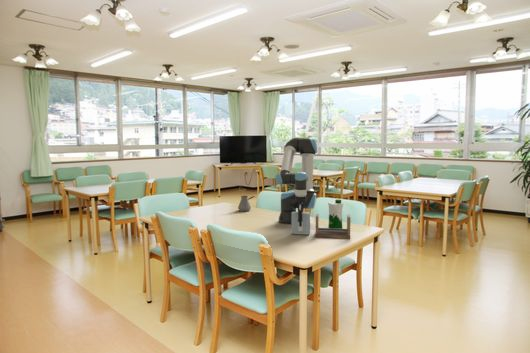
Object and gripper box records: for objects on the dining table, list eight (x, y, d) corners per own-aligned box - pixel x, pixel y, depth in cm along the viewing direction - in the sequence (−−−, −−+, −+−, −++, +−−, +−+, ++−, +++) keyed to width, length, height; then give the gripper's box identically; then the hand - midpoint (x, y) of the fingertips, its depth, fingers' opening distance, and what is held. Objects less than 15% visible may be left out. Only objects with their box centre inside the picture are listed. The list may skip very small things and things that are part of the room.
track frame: (316, 232, 247) (316, 213, 246) (349, 233, 243) (349, 213, 242) (315, 237, 236) (315, 217, 234) (350, 238, 232) (350, 218, 230)
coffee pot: (235, 210, 321) (235, 193, 319) (246, 208, 328) (246, 192, 326) (249, 214, 304) (248, 196, 302) (260, 212, 311) (260, 195, 309)
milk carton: (344, 228, 256) (344, 200, 254) (333, 230, 253) (333, 201, 251) (337, 225, 264) (337, 198, 262) (326, 227, 261) (326, 199, 259)
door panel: (292, 232, 246) (291, 211, 244) (309, 232, 244) (309, 212, 242) (291, 233, 243) (291, 212, 241) (309, 234, 241) (309, 213, 239)
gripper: (296, 193, 249) (296, 226, 252) (293, 197, 233) (293, 233, 236) (307, 193, 247) (307, 227, 250) (305, 197, 232) (305, 233, 235)
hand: (300, 230), depth 243 cm, fingers closed on door panel, 3 cm apart
